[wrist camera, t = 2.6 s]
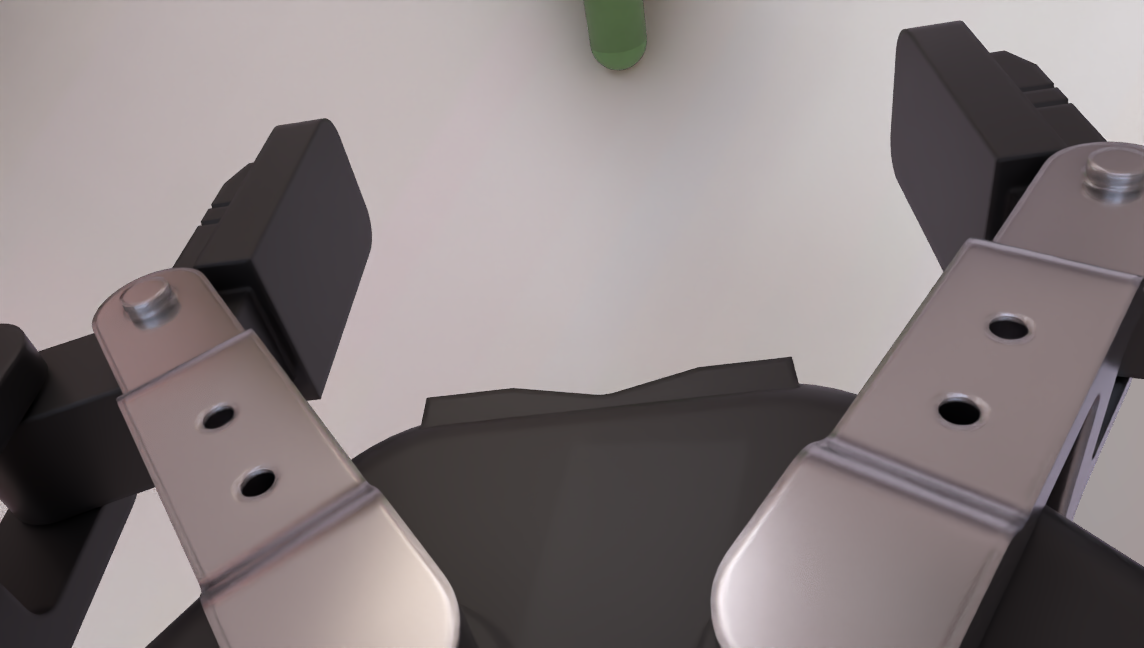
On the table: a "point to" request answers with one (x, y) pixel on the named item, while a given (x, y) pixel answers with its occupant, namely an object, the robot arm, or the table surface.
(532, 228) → the table surface
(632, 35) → the toy dinosaur
